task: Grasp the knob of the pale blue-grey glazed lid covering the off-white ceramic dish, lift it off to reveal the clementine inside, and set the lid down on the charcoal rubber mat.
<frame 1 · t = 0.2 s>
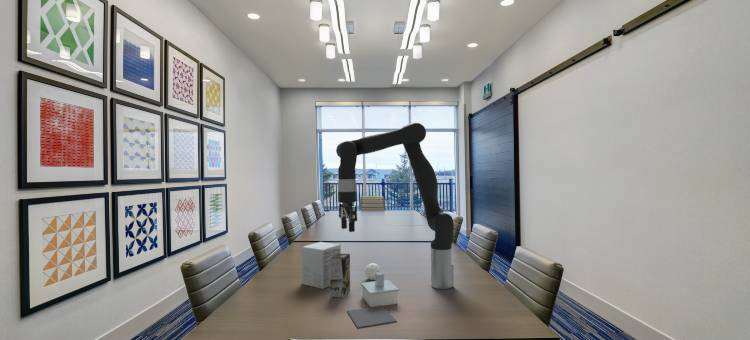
hand: (347, 230, 134), 28 cm above the table, fingers open, 8 cm apart
coffee box: (340, 294, 141), on the table
clementine: (379, 293, 133), point 3 cm above the table, touching dish
lid: (379, 287, 133), point 5 cm above the table, touching dish
geometric ball: (372, 279, 159), on the table
supplement box: (321, 283, 155), on the table
mat: (371, 316, 118), on the table
dish: (379, 300, 133), on the table
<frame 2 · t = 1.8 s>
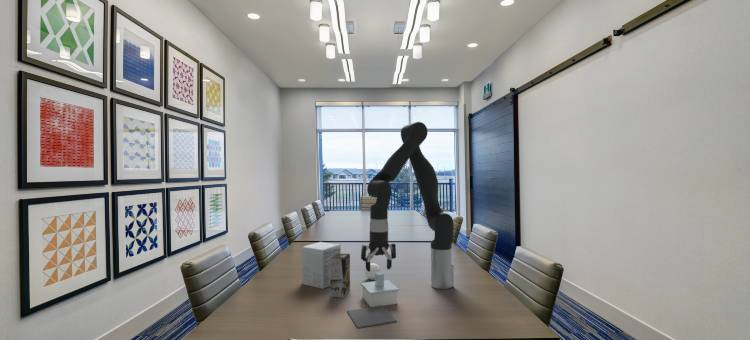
hand: (378, 269, 133), 12 cm above the table, fingers open, 8 cm apart
nothing on the table moved.
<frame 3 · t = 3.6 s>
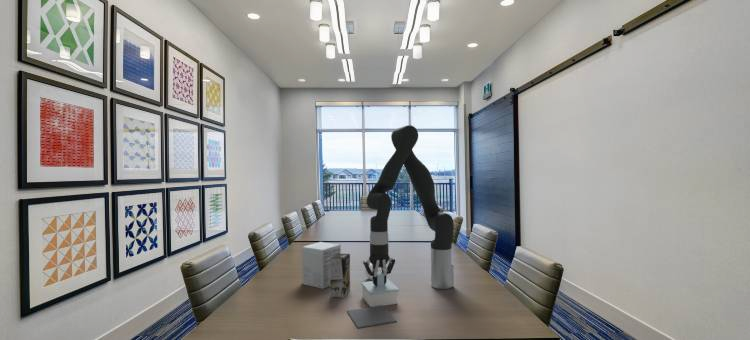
hand: (379, 284, 133), 6 cm above the table, fingers closed on lid, 2 cm apart
lid: (379, 287, 133), point 5 cm above the table, touching dish, gripper
everything else where it was.
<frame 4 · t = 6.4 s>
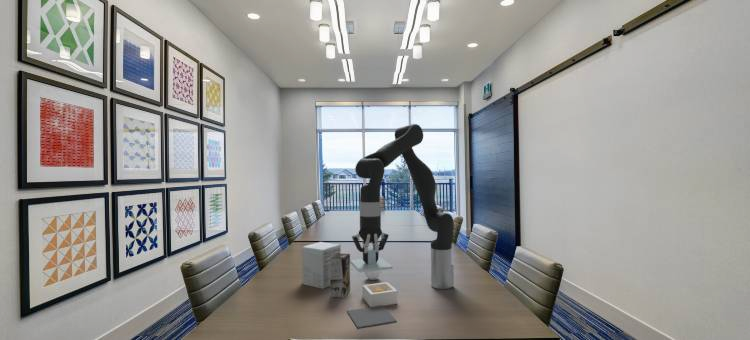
hand: (370, 262, 118), 19 cm above the table, fingers closed on lid, 2 cm apart
lid: (370, 265, 118), point 18 cm above the table, touching gripper
everything else where it was.
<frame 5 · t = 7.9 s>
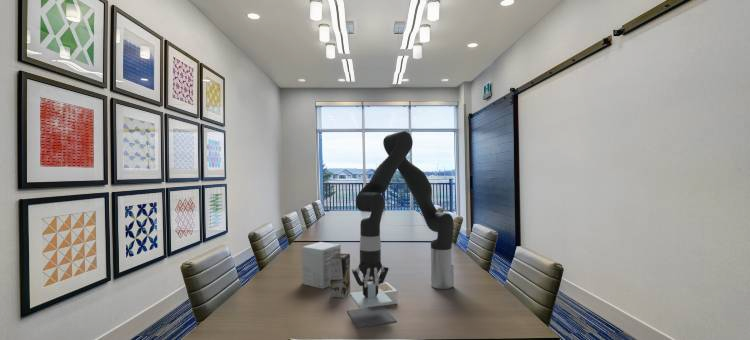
hand: (370, 295, 118), 7 cm above the table, fingers closed on lid, 2 cm apart
lid: (370, 299, 118), point 6 cm above the table, touching gripper
everything else where it was.
when the fingers open (3 cm above the table, at t = 9.3 s): lid drops 2 cm, resting on mat.
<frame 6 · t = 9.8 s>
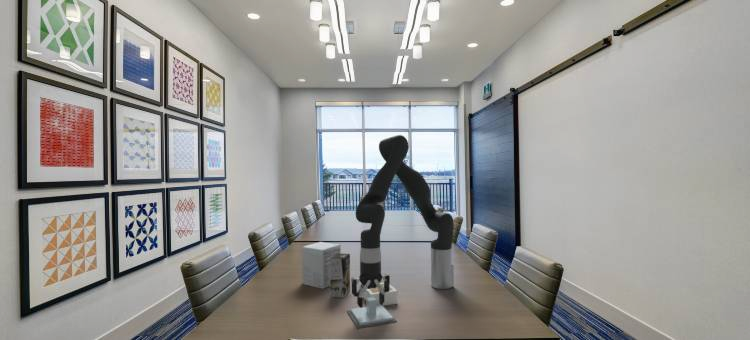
hand: (370, 305, 118), 4 cm above the table, fingers open, 7 cm apart
lid: (371, 315, 118), resting on mat
everything else where it was.
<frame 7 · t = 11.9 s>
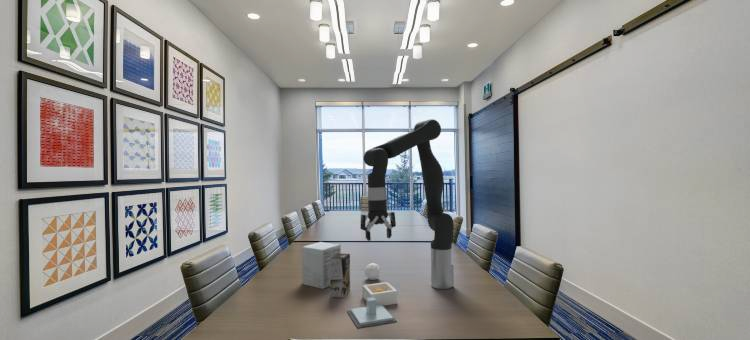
hand: (378, 239, 131), 25 cm above the table, fingers open, 8 cm apart
nothing on the table moved.
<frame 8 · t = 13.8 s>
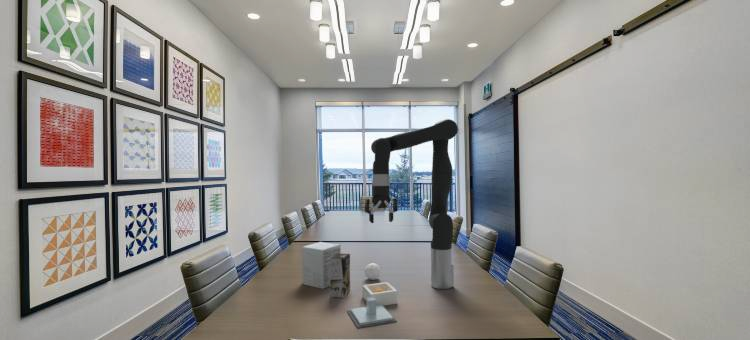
hand: (381, 222, 142), 30 cm above the table, fingers open, 8 cm apart
nothing on the table moved.
at the end: lid inside the target area on the mat (0.1 cm from its centre), point 0.4 cm above the mat's base; lid touching mat; lid tilted 0° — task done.
